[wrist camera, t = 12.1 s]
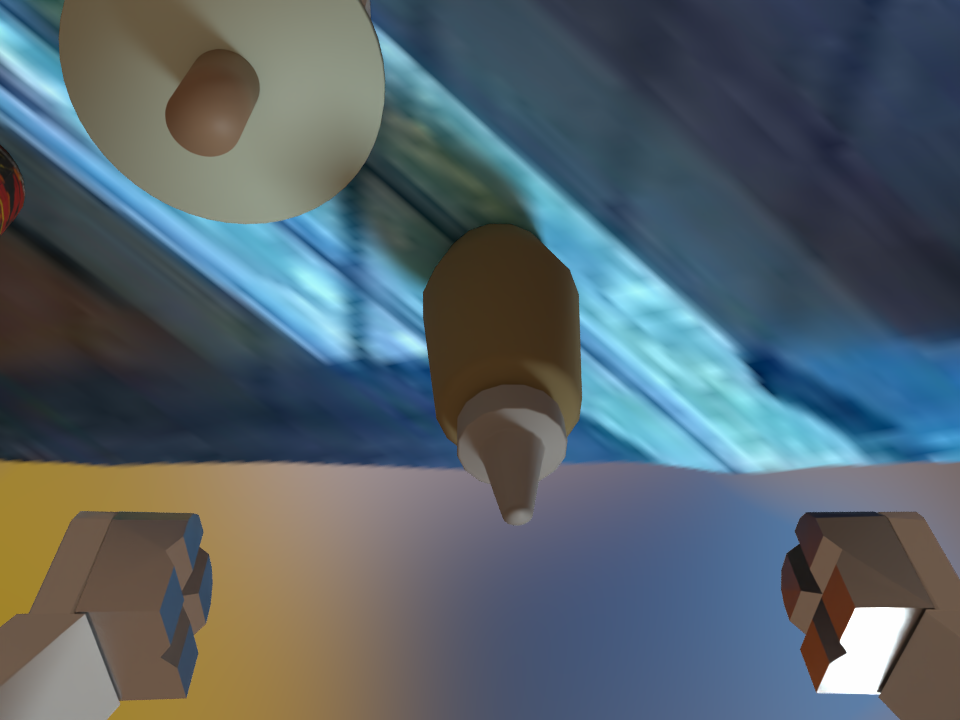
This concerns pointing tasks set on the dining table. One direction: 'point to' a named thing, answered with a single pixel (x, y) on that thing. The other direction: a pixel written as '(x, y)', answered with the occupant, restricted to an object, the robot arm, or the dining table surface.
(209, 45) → the lid
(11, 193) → the deodorant
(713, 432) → the dining table surface
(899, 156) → the dining table surface
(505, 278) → the squeeze bottle
